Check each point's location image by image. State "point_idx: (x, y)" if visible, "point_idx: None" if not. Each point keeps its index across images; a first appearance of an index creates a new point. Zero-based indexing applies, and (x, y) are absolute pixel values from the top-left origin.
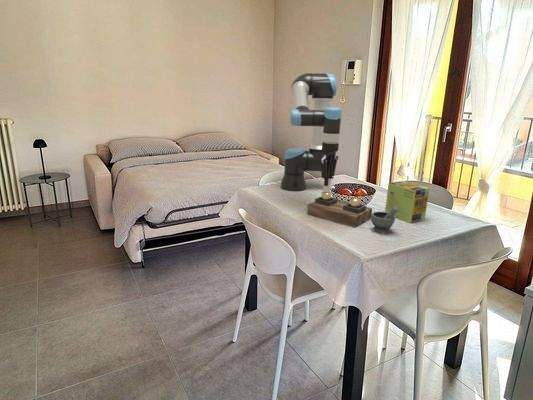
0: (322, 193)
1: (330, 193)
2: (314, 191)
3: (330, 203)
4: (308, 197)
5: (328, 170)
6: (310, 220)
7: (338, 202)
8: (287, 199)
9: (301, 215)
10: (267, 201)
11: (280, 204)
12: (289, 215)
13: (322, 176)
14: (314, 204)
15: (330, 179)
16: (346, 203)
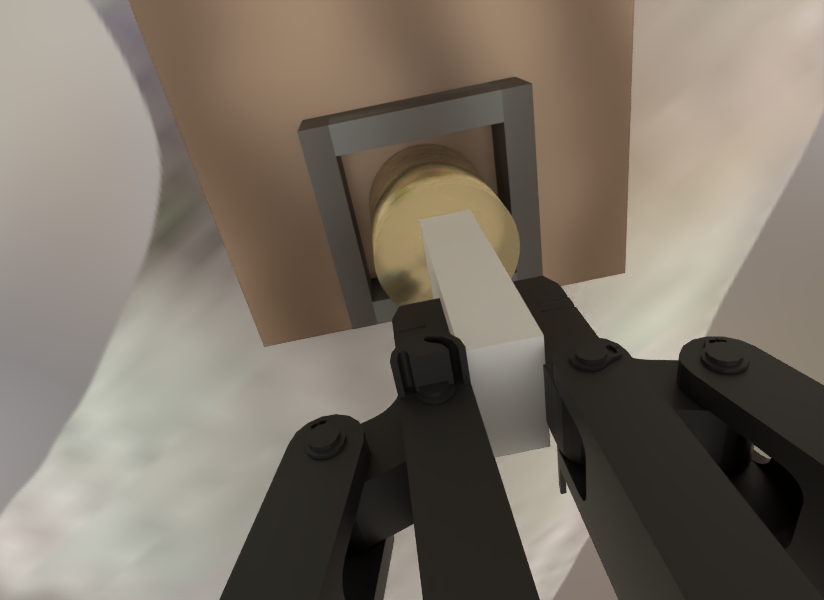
0: (510, 271)
1: (443, 184)
2: (79, 583)
3: (479, 89)
4: (233, 509)
5: (795, 572)
6: (702, 92)
7: (268, 118)
8: (412, 533)
9: (638, 237)
10: (554, 550)
11: (539, 483)
12: (703, 289)
13: (755, 454)
14: (577, 232)
15: (485, 342)
16: (192, 9)
